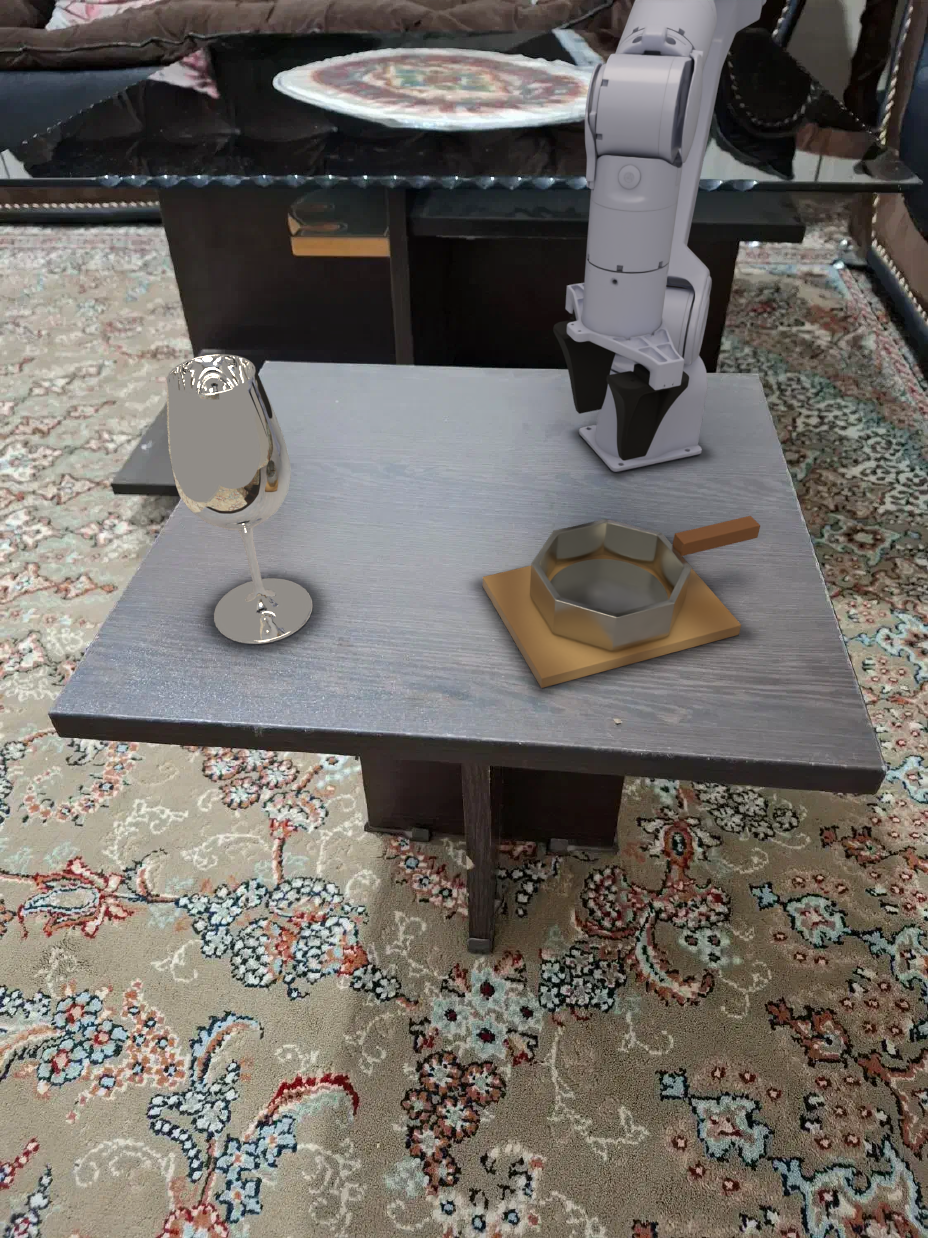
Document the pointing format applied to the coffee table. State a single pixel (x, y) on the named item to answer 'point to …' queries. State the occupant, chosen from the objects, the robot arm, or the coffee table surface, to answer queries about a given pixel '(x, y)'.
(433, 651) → the coffee table surface
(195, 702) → the coffee table surface
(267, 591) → the wineglass
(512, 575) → the cutting board
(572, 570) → the saucepan
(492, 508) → the coffee table surface
